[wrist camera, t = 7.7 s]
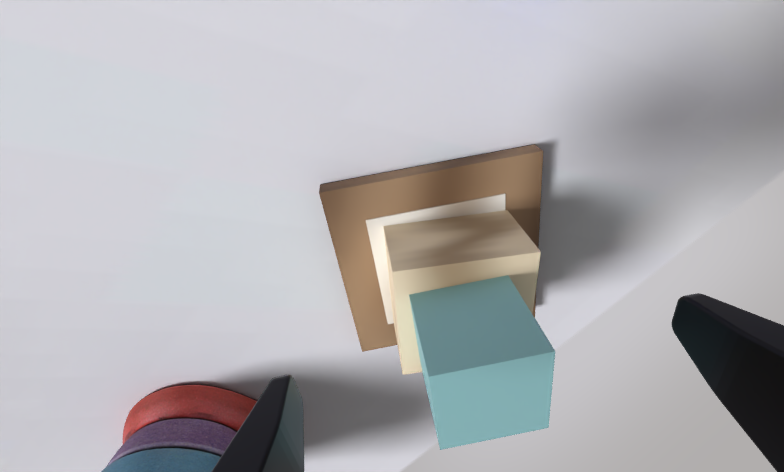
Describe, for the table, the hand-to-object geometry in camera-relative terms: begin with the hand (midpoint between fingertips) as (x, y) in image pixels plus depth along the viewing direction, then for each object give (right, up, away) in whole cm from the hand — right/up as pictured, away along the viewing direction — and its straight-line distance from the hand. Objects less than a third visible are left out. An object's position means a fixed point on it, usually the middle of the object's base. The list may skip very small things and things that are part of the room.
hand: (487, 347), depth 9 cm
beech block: (+1, +1, +13) cm, 13 cm away
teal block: (+1, -2, +10) cm, 10 cm away
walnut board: (0, +1, +14) cm, 14 cm away
